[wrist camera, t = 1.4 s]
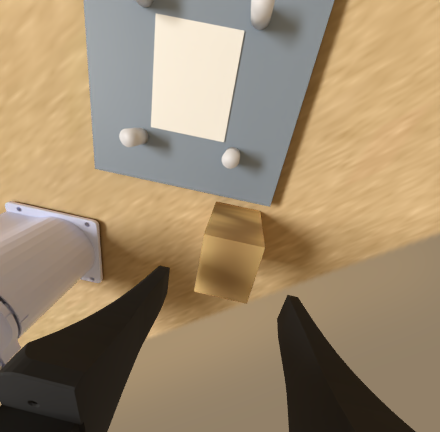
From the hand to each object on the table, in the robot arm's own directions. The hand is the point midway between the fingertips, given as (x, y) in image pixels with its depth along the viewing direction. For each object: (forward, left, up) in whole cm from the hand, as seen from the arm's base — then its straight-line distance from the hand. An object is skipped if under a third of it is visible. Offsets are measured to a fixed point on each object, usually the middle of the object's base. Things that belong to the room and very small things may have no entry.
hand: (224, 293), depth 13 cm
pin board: (-5, +11, -8) cm, 15 cm away
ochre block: (0, 0, -8) cm, 8 cm away
